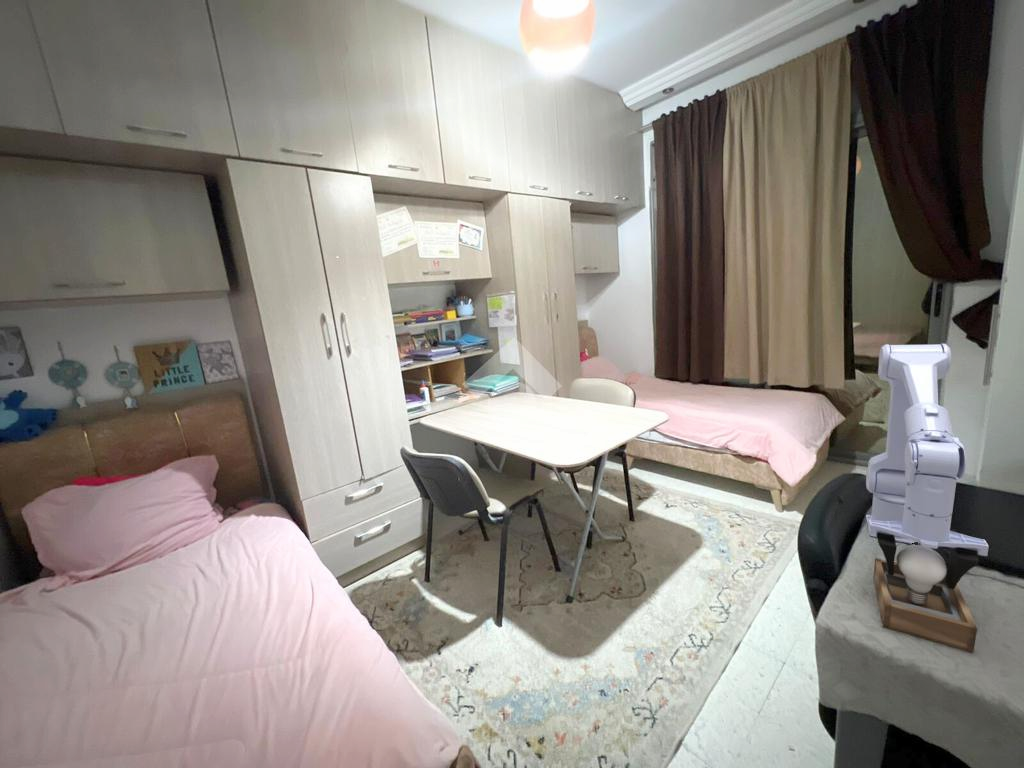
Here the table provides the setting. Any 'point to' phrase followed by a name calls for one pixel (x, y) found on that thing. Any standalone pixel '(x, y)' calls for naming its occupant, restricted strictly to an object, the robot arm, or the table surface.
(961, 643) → the socket box
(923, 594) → the lightbulb
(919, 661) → the table surface
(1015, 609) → the table surface
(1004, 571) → the table surface
